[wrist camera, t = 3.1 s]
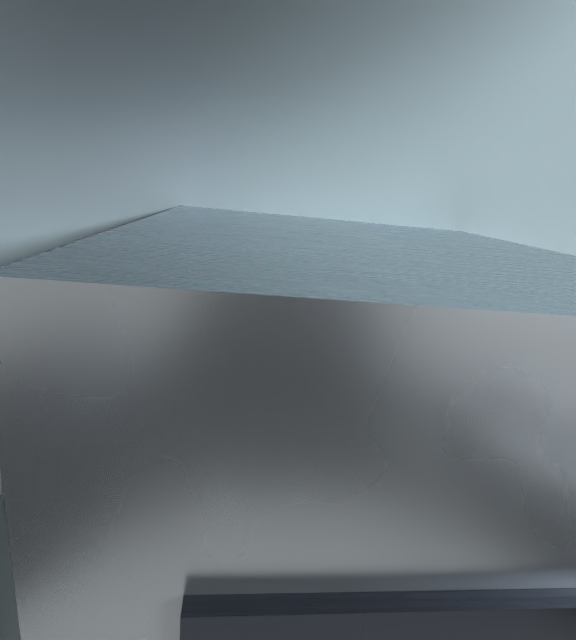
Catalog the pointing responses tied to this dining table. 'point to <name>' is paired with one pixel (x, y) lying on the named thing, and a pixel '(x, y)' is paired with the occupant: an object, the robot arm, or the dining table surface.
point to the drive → (289, 433)
